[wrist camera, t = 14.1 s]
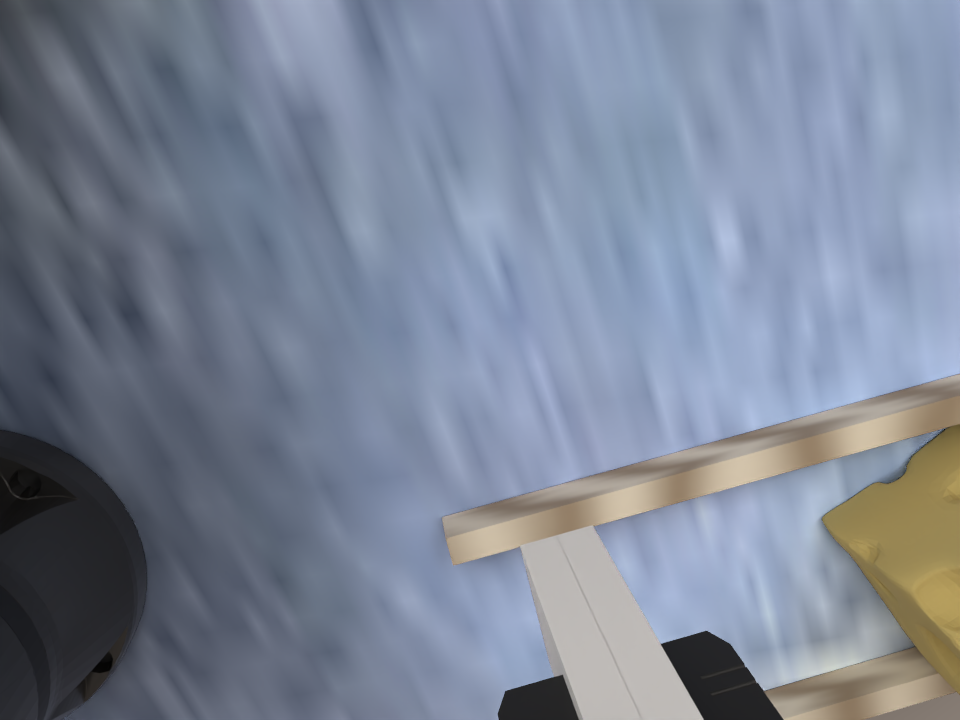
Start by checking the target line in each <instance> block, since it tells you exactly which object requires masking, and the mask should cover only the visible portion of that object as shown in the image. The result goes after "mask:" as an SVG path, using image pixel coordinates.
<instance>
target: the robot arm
mask: <svg viewBox="0 0 960 720" xmlns="http://www.w3.org/2000/svg"><path fill="white" fill-rule="evenodd" d="M520 548H521V552H522V556H523V560H524V564H525V568H526V572H527V576H528V580H529V584H530V588H531V592H532V596H533V600H534V603H535V607H536V611H537V615H538V619H539V623H540V627H541V631H542V635H543V639H544V643H545V647H546V651H547V655H548V658H549V662H550V665H551V668H552V671H553V674H554V677H553V678H549V679H546V680H542V681H539V682H535V683H532V684H528V685H525V686H521V687H518V688H514V689H511V690H508V691H505V694H504V697H503V700H502V703H501V706H500V709H499V712H498V717H499V720H784V719H783V718H782V716H781V715H780V714H779V712H778V711H777V709H776V708H775V707H774V705H773V704H772V702H771V701H770V700H769V698H768V697H767V695H766V694H765V692H764V691H763V690H762V688H761V687H760V685H759V684H758V683H756V681H755V678H754V677H753V676H752V674H751V673H750V671H749V670H748V669H747V667H746V668H745V665H744V663H743V661H742V660H741V659H740V657H739V656H738V654H737V653H736V652H735V650H734V649H733V647H732V646H731V645H730V644H729V643H727V642H725V641H724V640H722V639H720V638H718V637H717V636H715V635H713V634H711V633H710V632H708V631H704V632H701V633H697V634H694V635H690V636H687V637H683V638H680V639H676V640H673V641H670V642H666V643H663V644H660V642H659V641H658V639H657V637H656V635H655V634H654V632H653V630H652V628H651V627H650V625H649V623H648V621H647V620H646V618H645V616H644V614H643V613H642V611H641V609H640V607H639V606H638V604H637V602H636V600H635V599H634V597H633V595H632V593H631V592H630V590H629V588H628V586H627V585H626V583H625V581H624V579H623V578H622V576H621V574H620V572H619V571H618V569H617V567H616V565H615V564H614V562H613V560H612V558H611V557H610V555H609V553H608V551H607V550H606V548H605V546H604V544H603V543H602V541H601V539H600V537H599V536H598V534H597V532H596V530H595V529H594V527H593V525H591V526H588V527H584V528H580V529H577V530H573V531H570V532H566V533H563V534H559V535H555V536H552V537H548V538H545V539H541V540H538V541H534V542H530V543H527V544H523V545H520ZM146 588H147V572H146V562H145V556H144V551H143V547H142V544H141V541H140V538H139V535H138V532H137V530H136V528H135V525H134V523H133V521H132V519H131V517H130V515H129V514H128V512H127V510H126V509H125V507H124V506H123V504H122V503H121V501H120V500H119V499H118V497H117V496H116V495H115V494H114V492H113V491H112V490H111V489H110V488H109V487H108V486H107V485H106V484H105V483H104V482H103V481H102V479H101V478H99V477H98V476H97V475H96V474H95V473H94V472H93V471H91V470H90V469H89V468H88V467H86V466H85V465H84V464H82V463H81V462H79V461H78V460H76V459H75V458H73V457H72V456H70V455H68V454H67V453H65V452H63V451H61V450H60V449H57V448H55V447H53V446H51V445H49V444H47V443H44V442H42V441H39V440H37V439H34V438H31V437H28V436H25V435H21V434H17V433H13V432H8V431H2V430H0V720H62V719H64V718H65V717H66V716H68V715H69V714H70V713H72V712H73V711H74V710H76V709H77V708H78V707H80V706H81V705H82V704H84V703H85V702H86V701H87V700H88V699H89V698H90V697H92V696H93V695H94V694H95V693H96V692H97V691H98V690H99V689H100V688H101V687H102V686H103V684H104V683H105V682H106V681H107V679H108V678H109V677H110V676H111V674H112V673H113V672H114V670H115V669H116V667H117V666H118V664H119V663H120V661H121V659H122V657H123V656H124V654H125V652H126V649H127V647H128V645H129V643H130V641H131V639H132V637H133V635H134V633H135V631H136V629H137V626H138V624H139V621H140V618H141V615H142V612H143V608H144V603H145V598H146Z"/></svg>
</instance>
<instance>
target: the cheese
mask: <svg viewBox="0 0 960 720" xmlns="http://www.w3.org/2000/svg"><path fill="white" fill-rule="evenodd" d="M906 467H907V470H906V472H905V473H904V475H903V476H902V477H901V478H899V479H898V480H896V481H894V482H892V483H888V484H884V483H880V482H877V483H873V484H872V485H870V486H868V487H867V488H865V489H864V490H862V491H861V492H859V493H858V494H856V495H855V496H853V497H852V498H851V499H849V500H848V501H846V502H844V503H843V504H841V505H839V506H838V507H836V508H834V509H833V510H831V511H830V512H828V513H827V514H826V515H824V516H823V517H822V521H823V523H824V525H825V526H826V528H827V529H828V531H829V532H830V534H831V535H832V536H833V538H834V539H835V540H836V541H837V542H838V543H839V544H840V546H841V547H842V548H843V549H845V550H846V551H847V552H848V553H849V554H850V556H851V557H852V558H853V559H854V561H855V562H856V563H857V565H858V566H859V567H860V569H861V570H862V572H863V573H864V575H865V576H866V578H867V579H868V580H869V582H870V583H871V585H872V586H873V587H874V589H875V590H876V592H877V593H878V594H879V596H880V597H881V599H882V600H883V601H884V603H885V604H886V606H887V607H888V608H889V610H890V611H891V613H892V614H893V616H894V617H895V619H896V620H897V622H898V623H899V625H900V626H901V628H902V629H903V630H904V632H905V633H906V635H907V636H908V637H909V638H910V639H911V641H912V642H913V643H914V645H915V646H916V647H917V649H918V650H919V651H920V652H921V654H922V655H923V656H924V657H925V659H926V660H927V661H928V662H929V663H930V664H931V665H932V666H933V668H934V669H935V670H936V671H937V672H938V673H939V674H940V675H941V676H942V677H943V678H944V679H945V680H946V681H947V682H948V683H949V685H950V686H951V687H952V688H953V689H954V690H955V691H956V692H957V693H959V695H960V424H957V425H954V426H950V427H949V428H947V429H946V430H945V431H943V432H942V433H941V434H939V435H938V436H937V437H936V438H934V439H933V440H932V441H930V442H929V443H928V444H926V445H925V446H924V447H923V448H921V449H920V450H919V451H918V452H917V453H915V454H914V455H913V456H912V458H911V460H910V462H909V463H908V464H907V466H906Z"/></svg>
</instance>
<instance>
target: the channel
mask: <svg viewBox="0 0 960 720" xmlns="http://www.w3.org/2000/svg"><path fill="white" fill-rule="evenodd" d="M957 424H960V374H958V375H954V376H950V377H947V378H943V379H939V380H936V381H932V382H929V383H925V384H921V385H918V386H914V387H911V388H907V389H903V390H900V391H896V392H892V393H889V394H885V395H882V396H878V397H874V398H871V399H867V400H864V401H860V402H856V403H853V404H849V405H846V406H842V407H838V408H835V409H831V410H827V411H824V412H820V413H817V414H813V415H809V416H806V417H802V418H799V419H795V420H791V421H788V422H784V423H780V424H777V425H773V426H770V427H766V428H762V429H759V430H755V431H752V432H748V433H744V434H741V435H737V436H733V437H730V438H726V439H723V440H719V441H715V442H712V443H708V444H705V445H701V446H697V447H694V448H690V449H687V450H683V451H679V452H676V453H672V454H668V455H665V456H661V457H658V458H654V459H650V460H647V461H643V462H640V463H636V464H632V465H629V466H625V467H621V468H618V469H614V470H611V471H607V472H603V473H600V474H596V475H593V476H589V477H585V478H582V479H578V480H575V481H571V482H567V483H564V484H560V485H556V486H553V487H549V488H546V489H542V490H538V491H535V492H531V493H528V494H524V495H520V496H517V497H513V498H509V499H506V500H502V501H499V502H495V503H491V504H488V505H484V506H481V507H477V508H473V509H470V510H466V511H462V512H459V513H455V514H452V515H448V516H444V517H442V521H443V527H444V532H445V538H446V541H447V545H448V549H449V552H450V556H451V559H452V563H453V566H454V565H457V564H461V563H465V562H468V561H472V560H475V559H479V558H482V557H486V556H490V555H493V554H497V553H500V552H504V551H507V550H511V549H515V548H518V547H520V545H523V544H527V543H530V542H534V541H538V540H541V539H545V538H548V537H552V536H555V535H559V534H563V533H566V532H570V531H573V530H577V529H580V528H584V527H588V526H591V525H593V526H597V525H600V524H604V523H607V522H611V521H615V520H618V519H622V518H625V517H629V516H632V515H636V514H640V513H643V512H647V511H650V510H654V509H657V508H661V507H665V506H668V505H672V504H675V503H679V502H682V501H686V500H690V499H693V498H697V497H700V496H704V495H707V494H711V493H715V492H718V491H722V490H725V489H729V488H732V487H736V486H740V485H743V484H747V483H750V482H754V481H757V480H761V479H765V478H768V477H772V476H775V475H779V474H782V473H786V472H790V471H793V470H797V469H800V468H804V467H807V466H811V465H815V464H818V463H822V462H825V461H829V460H832V459H836V458H840V457H843V456H847V455H850V454H854V453H857V452H861V451H865V450H868V449H872V448H875V447H879V446H882V445H886V444H890V443H893V442H897V441H900V440H904V439H907V438H911V437H915V436H918V435H922V434H925V433H929V432H932V431H936V430H940V429H943V428H947V427H950V426H954V425H957ZM764 692H765V694H766V695H767V697H768V698H769V700H770V701H771V702H772V704H773V705H774V707H775V708H776V709H777V711H778V712H779V714H780V715H781V716H782V718H783V719H784V720H864V719H867V718H871V717H874V716H878V715H881V714H884V713H888V712H891V711H894V710H898V709H901V708H904V707H908V706H911V705H915V704H918V703H921V702H925V701H928V700H931V699H935V698H938V697H941V696H945V695H948V694H951V693H955V692H956V691H955V690H954V689H953V688H952V687H951V686H950V685H949V683H948V682H947V681H946V680H945V679H944V678H943V677H942V676H941V675H940V674H939V673H938V672H937V671H936V670H935V669H934V668H933V666H932V665H931V664H930V663H929V662H928V661H927V660H926V659H925V657H924V656H923V655H922V654H921V652H920V651H919V650H918V649H917V647H913V648H910V649H907V650H903V651H900V652H896V653H893V654H890V655H886V656H883V657H879V658H876V659H873V660H869V661H866V662H862V663H859V664H856V665H852V666H849V667H845V668H842V669H838V670H835V671H832V672H828V673H825V674H821V675H818V676H815V677H811V678H808V679H804V680H801V681H798V682H794V683H791V684H787V685H784V686H781V687H777V688H774V689H770V690H767V691H764Z"/></svg>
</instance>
